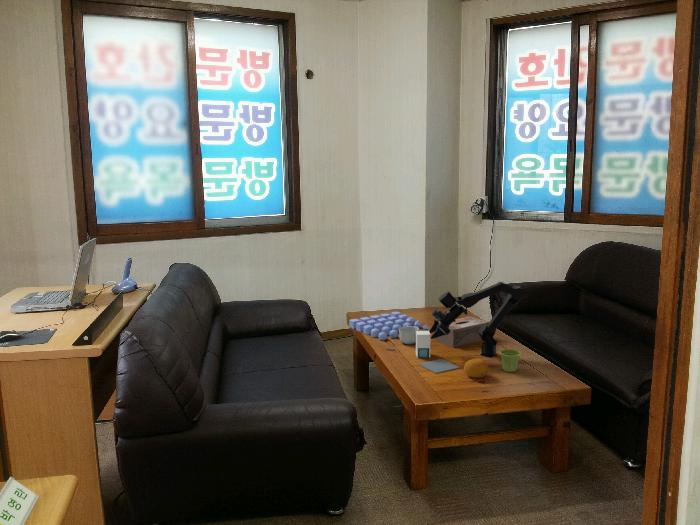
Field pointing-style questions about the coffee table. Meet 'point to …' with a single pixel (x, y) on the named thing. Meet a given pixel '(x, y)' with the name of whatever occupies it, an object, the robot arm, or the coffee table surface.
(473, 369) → the fruit
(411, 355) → the coffee table surface
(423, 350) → the block
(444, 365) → the mat
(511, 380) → the coffee table surface
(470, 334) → the tissue box cover
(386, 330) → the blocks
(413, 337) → the teacup
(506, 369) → the plant pot
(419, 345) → the tall white pillar
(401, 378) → the coffee table surface
